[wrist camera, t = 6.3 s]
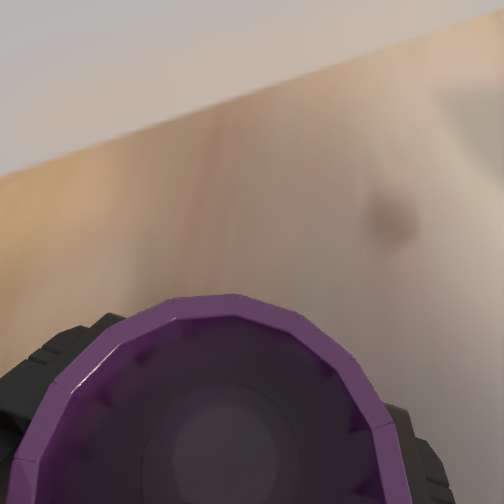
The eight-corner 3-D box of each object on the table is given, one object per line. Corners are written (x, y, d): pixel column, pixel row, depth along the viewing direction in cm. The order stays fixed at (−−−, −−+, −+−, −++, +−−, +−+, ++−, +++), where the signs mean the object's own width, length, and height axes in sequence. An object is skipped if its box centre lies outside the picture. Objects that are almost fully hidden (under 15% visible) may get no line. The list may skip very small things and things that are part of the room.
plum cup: (327, 404, 14) (432, 353, 7) (283, 606, 11) (373, 867, 4) (173, 352, 14) (115, 254, 7) (100, 536, 12) (-96, 663, 5)
